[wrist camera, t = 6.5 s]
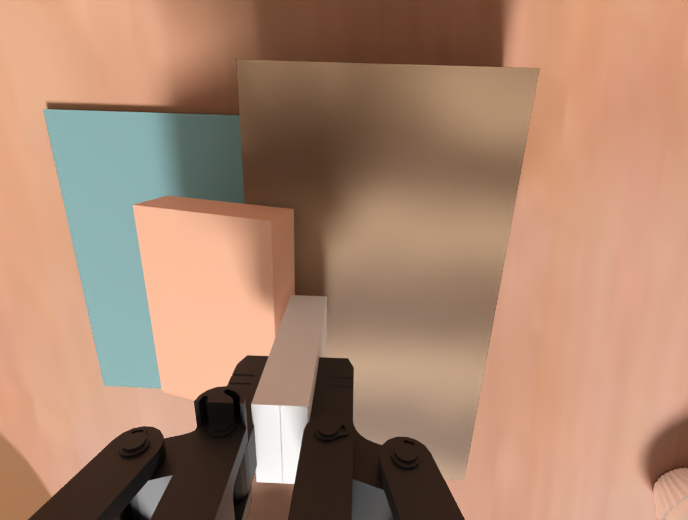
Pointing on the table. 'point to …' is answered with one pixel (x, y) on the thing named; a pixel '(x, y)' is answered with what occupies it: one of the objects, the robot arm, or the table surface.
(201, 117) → the mat
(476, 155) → the brown wooden slab
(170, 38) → the table surface
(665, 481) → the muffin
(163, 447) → the robot arm
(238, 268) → the block
